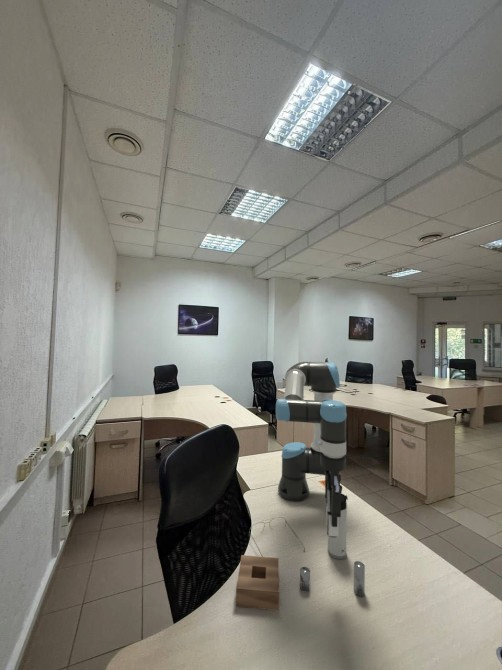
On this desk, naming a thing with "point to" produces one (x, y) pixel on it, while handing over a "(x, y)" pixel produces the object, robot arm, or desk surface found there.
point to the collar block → (258, 583)
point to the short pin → (305, 579)
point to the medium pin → (359, 578)
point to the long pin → (327, 514)
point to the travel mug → (339, 534)
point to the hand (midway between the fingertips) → (332, 530)
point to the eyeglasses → (272, 529)
